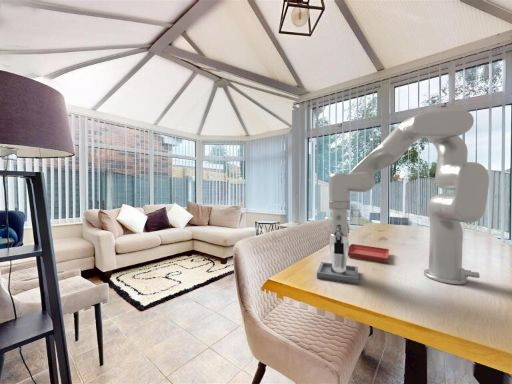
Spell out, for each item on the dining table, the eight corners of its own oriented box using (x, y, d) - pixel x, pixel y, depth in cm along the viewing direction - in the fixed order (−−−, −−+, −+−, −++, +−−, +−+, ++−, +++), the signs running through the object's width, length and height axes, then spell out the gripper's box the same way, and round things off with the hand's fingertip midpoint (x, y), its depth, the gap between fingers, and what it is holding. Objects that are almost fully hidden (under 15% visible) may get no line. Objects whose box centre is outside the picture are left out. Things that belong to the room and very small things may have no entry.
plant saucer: (389, 255, 116) (389, 248, 116) (387, 265, 101) (387, 257, 101) (351, 249, 126) (351, 243, 126) (344, 258, 110) (344, 251, 110)
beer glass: (345, 270, 91) (346, 232, 91) (351, 277, 84) (351, 236, 84) (327, 269, 92) (328, 232, 91) (331, 276, 85) (332, 235, 84)
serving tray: (357, 272, 91) (357, 266, 91) (358, 284, 79) (358, 278, 79) (321, 267, 97) (321, 261, 97) (316, 278, 85) (316, 272, 85)
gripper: (349, 207, 78) (350, 257, 78) (350, 204, 94) (350, 245, 94) (326, 207, 81) (327, 255, 81) (331, 203, 97) (331, 244, 97)
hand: (339, 250), depth 88 cm, fingers open, 9 cm apart
